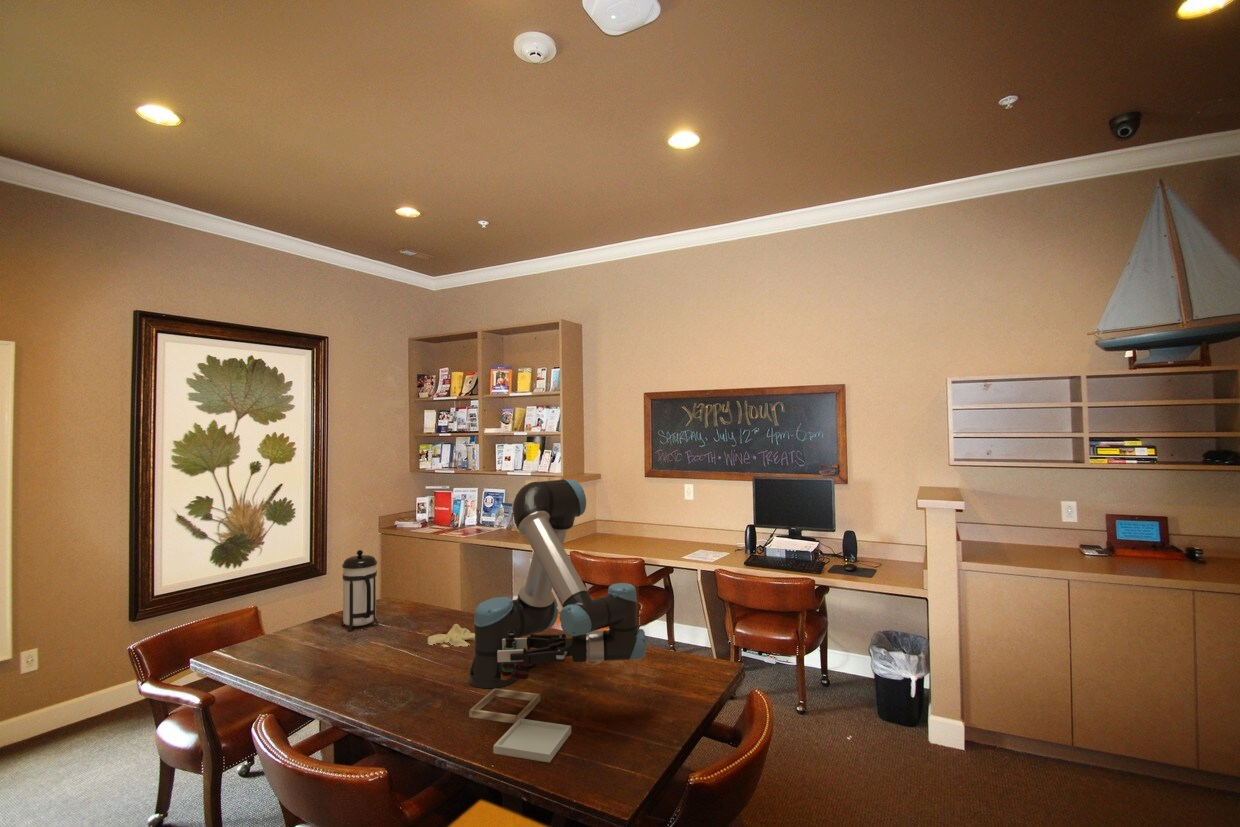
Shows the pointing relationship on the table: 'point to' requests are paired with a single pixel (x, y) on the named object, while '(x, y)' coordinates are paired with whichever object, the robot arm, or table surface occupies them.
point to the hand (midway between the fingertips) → (500, 650)
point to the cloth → (453, 637)
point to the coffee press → (359, 590)
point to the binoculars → (508, 667)
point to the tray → (532, 740)
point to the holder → (501, 717)
